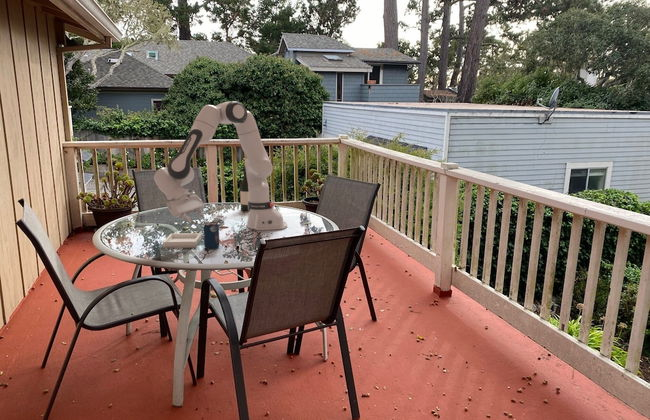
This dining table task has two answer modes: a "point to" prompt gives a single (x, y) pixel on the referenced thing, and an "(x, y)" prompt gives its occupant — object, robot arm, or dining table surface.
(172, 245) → the tray
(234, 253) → the dining table surface
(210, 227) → the soda can
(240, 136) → the robot arm
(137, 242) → the dining table surface
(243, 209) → the wine bottle
